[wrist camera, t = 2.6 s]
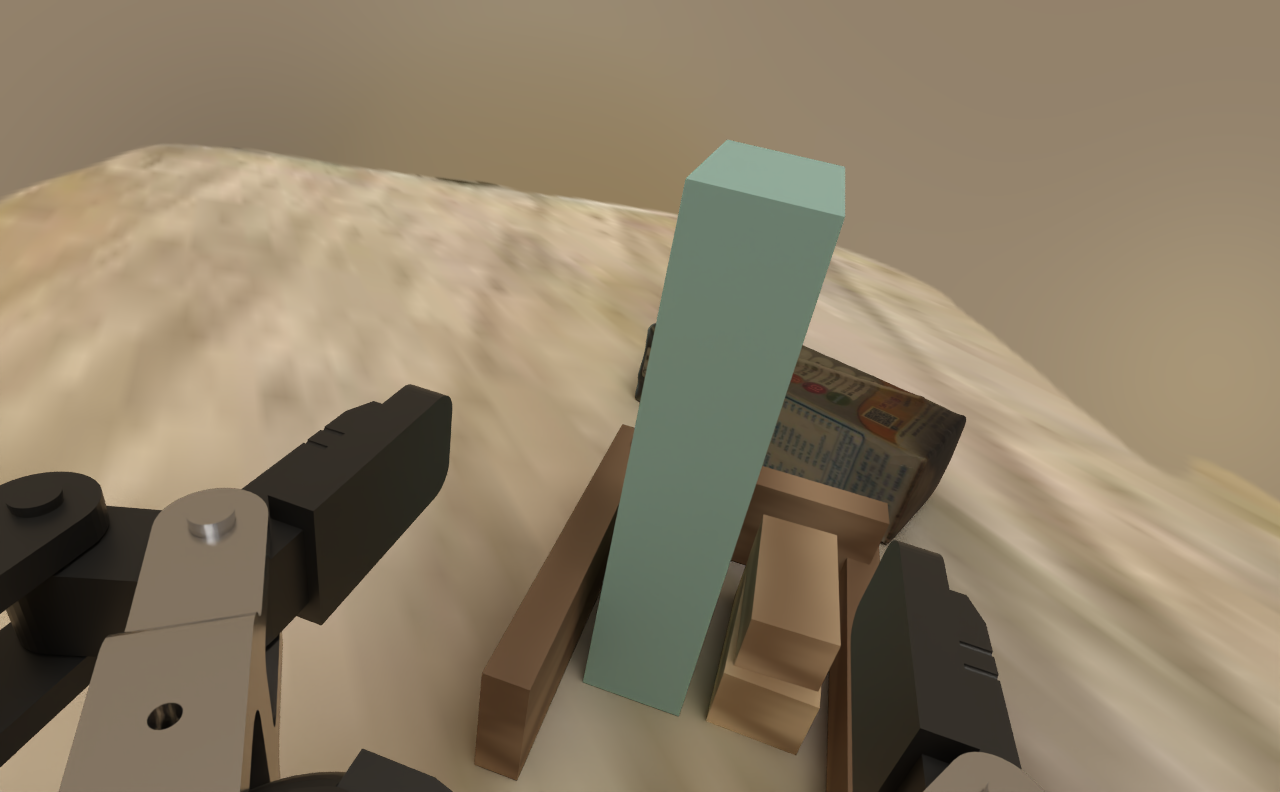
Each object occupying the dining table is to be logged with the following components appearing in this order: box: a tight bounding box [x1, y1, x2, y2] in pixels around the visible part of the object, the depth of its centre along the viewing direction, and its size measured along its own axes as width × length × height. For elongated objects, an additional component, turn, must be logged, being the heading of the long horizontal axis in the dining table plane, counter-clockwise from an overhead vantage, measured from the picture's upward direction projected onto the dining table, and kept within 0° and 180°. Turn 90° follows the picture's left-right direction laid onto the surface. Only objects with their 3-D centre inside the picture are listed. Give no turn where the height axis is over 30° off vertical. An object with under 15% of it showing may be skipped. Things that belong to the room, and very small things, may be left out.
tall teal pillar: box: [583, 140, 845, 716], centre depth 25 cm, size 4×7×20 cm, turn 165°
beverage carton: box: [635, 323, 966, 544], centre depth 43 cm, size 8×19×7 cm, turn 50°
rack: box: [475, 424, 889, 792], centre depth 28 cm, size 14×16×5 cm
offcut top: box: [734, 514, 841, 692], centre depth 27 cm, size 3×6×3 cm, turn 167°
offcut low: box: [706, 561, 821, 755], centre depth 29 cm, size 4×7×3 cm, turn 163°
